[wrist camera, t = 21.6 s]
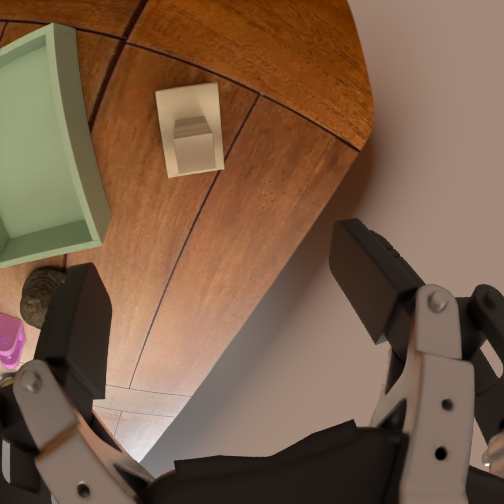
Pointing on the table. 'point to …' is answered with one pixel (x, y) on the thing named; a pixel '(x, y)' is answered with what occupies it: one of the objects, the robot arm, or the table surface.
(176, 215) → the table surface
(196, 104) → the base with upright post
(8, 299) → the table surface
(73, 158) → the bin
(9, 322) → the bracket
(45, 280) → the seashell
